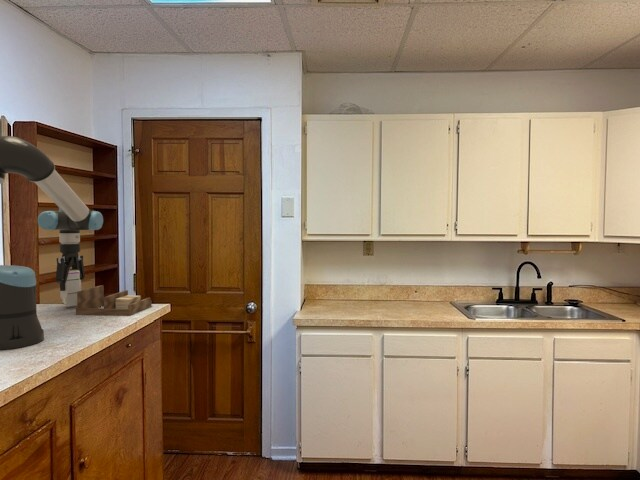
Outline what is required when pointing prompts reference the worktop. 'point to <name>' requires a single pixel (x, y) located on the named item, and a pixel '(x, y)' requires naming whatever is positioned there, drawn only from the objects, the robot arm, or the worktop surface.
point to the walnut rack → (106, 303)
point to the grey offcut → (121, 307)
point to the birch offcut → (127, 300)
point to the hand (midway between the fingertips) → (71, 296)
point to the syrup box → (72, 287)
